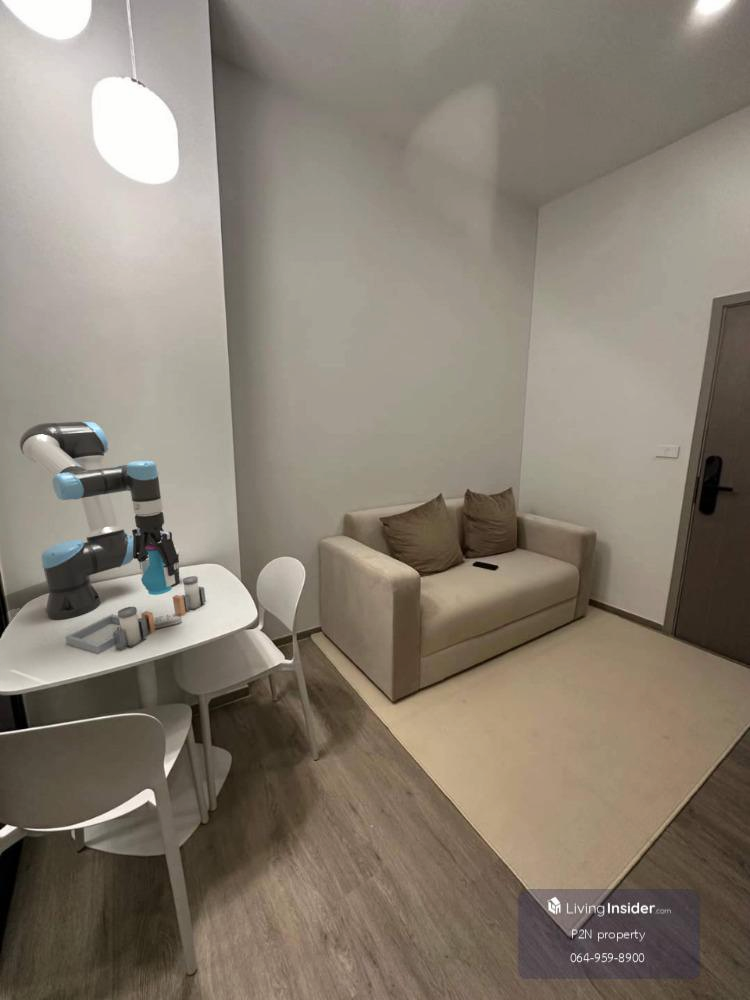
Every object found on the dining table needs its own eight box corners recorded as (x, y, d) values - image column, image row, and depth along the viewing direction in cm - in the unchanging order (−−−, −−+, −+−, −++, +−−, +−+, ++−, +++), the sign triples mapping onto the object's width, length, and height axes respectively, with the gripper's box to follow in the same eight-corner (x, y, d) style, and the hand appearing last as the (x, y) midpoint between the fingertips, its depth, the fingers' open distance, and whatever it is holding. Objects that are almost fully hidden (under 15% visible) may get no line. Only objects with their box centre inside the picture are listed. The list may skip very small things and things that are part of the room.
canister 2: (183, 607, 136) (179, 580, 134) (194, 601, 140) (190, 575, 138) (193, 610, 134) (190, 582, 132) (204, 603, 139) (200, 577, 136)
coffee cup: (176, 589, 152) (171, 552, 149) (151, 590, 152) (145, 553, 149) (188, 579, 161) (183, 544, 158) (165, 579, 161) (159, 544, 158)
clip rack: (112, 650, 114) (108, 628, 112) (197, 601, 142) (194, 583, 141) (126, 654, 112) (122, 631, 110) (209, 603, 140) (207, 585, 139)
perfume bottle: (183, 586, 127) (177, 542, 123) (156, 599, 119) (149, 551, 115) (163, 581, 131) (157, 538, 127) (136, 593, 123) (129, 547, 119)
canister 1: (119, 644, 115) (113, 612, 113) (134, 636, 120) (128, 605, 117) (130, 647, 114) (125, 615, 111) (145, 638, 118) (140, 608, 116)
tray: (67, 646, 116) (65, 637, 116) (113, 622, 129) (111, 614, 128) (99, 656, 111) (97, 646, 111) (144, 630, 124) (142, 621, 123)
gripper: (111, 513, 120) (123, 582, 125) (165, 519, 112) (175, 593, 117) (134, 507, 126) (144, 572, 131) (186, 513, 118) (195, 582, 124)
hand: (159, 582), depth 124 cm, fingers closed on perfume bottle, 9 cm apart
